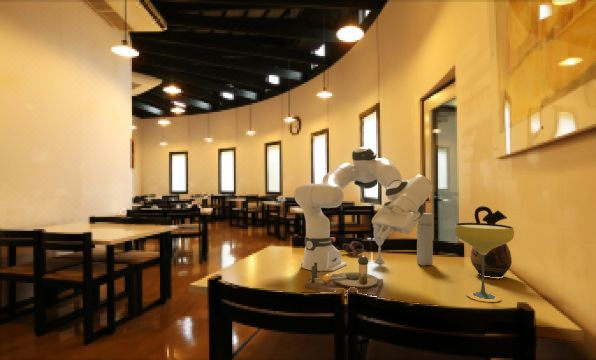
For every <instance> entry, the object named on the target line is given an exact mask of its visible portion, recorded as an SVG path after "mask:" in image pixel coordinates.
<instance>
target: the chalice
mask: <svg viewBox="0 0 596 360" xmlns="http://www.w3.org/2000/svg"><path fill="white" fill-rule="evenodd" d="M372 228H373V238H374V241H375V243H376V245H377V246H378V248H377V249H378V252H377V253H378V256H377V257H376V258H375V260H374V263H375V264H379V265H382V264H385V260H384V258H383V257H382V256H381V255H382V252H381V250H382V247H381V246H382V245H384V244H383V243H384V242H385V239H383V238H379V236H378V234H379V232H380V229H381V228H376V227H375V226H374V225H372Z"/></svg>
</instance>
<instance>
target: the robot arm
mask: <svg viewBox="0 0 596 360" xmlns="http://www.w3.org/2000/svg"><path fill="white" fill-rule="evenodd" d="M351 159H352V163H353V164H352V163H349V162H344V163H340V164H339V165H337V166H335V167H333V168H332V169H331V170H330V171H328V172H327V173H326V174H325V175H323V177H322V182H320V183H304V184H299V185H298V186H296V188H295V190H294V196H293V197H294V200H295V202H296V203H297V204H298V206H299V207H300V209H301V210H302V212H303V215H304V219H305V237H304V245H305V246H304V252H303V261H302V262H301V265H302V266H301V267H302V268H303V269H306V270H307V271H308V270H309V271H312V266H314V263H317V272H322V271H327V272H334V271H336V270H338V269H340V268H342V267H346V266H347V263H346V262H345V261H343V260H342V254H341V252H340V250H338V248H336V247H335V246H334V245H333V242H336V237H335V236H334V237H332V236H331V237H330V233H331V229H330V228H331V223H330V222H331V221H330V219H329V217H327V216H326V215H325V214H324V213H323V211H322V209H324V208H325V209H330V208H336V207H339V206H341V205H342V203H343V201H344V200H345V199H344V198H345V196H344V195H345V194H344V191H343V190H344V189H345V188H347V186H348V185H350V183H352V182H353V184H354V185H355V186H358V187H359V188H362V189H365V190H367V189H368V190H369V189H372V188H375V187H376V186H377V185H378V183H379V184H380V185H381V186H382V187H384V188H385V196H386V198H387V199H388V201H385V202H384V203H383V204H381V205H382V207H381V208H379V210H378V211H377V212H376V213H375V215H373V217H372V219H371V224H372V226H375V227H376V228H381V229H380V232H379V234H378V236H379V238H383V239H386V238H387V237H389V236H390V235H392V234H393V233H395V232H397V233H401V234H406V235H408V234H410V233H412V232H413V230H415V227H417V224H418V223H417V222H418V219H420V218H421V217H422V216H423V214H424V213H425V210H426V204H425V202H426V200H427V199H428V198H429V197H430V195H431V193H432V191H433V187H434V186H433V184H432V181H430V180H429V178H427V177H426V176H425V175H422V174H417V175H416V176H414V177H412V178H410V179H406V180H404V179H403V177H402V174H401V172H400V169H398V168H399V167H397V165H396V164H395V163H394V162H393V161H392V160H390V159H389V158H386V157H380V158H378V157H377V152H374V151H373V150H372V149H371V148H369V147H368V146H360V147H358V148H356V149H354V150H353V151H352V154H351Z"/></svg>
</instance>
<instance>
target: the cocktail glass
mask: <svg viewBox="0 0 596 360" xmlns="http://www.w3.org/2000/svg"><path fill="white" fill-rule="evenodd" d="M454 233H455V235H456V236H457V238H458V239H460V240H461V241H463V242H464V243H466V244H468V245H469V246H471V247H475V248H476V249H477V250H478V252H479V253H480V254H481V255H482V276H481V288H480V291H475V292H476V293H473V295H474V296H477V297H479V298H484V299H494V298H495V296H493V295H494V294H493V295H491V294H492V293H489V294H488V292H486V287H485V277H484V255H486V254H487V253H488V252H489V251H490V250H491V249H493V248H496V247H498V246H501V245H504V244H508V243H510V242H511V241H512V240H513V239H514V237H515V230H514V227H513V226H510V225H503V224H499V223H498V224H497V223H496V224H487V222H486V223H484V222H482V223H481V222H480V223H476V222H459V223H455V226H454Z"/></svg>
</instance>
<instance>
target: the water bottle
mask: <svg viewBox="0 0 596 360" xmlns="http://www.w3.org/2000/svg"><path fill="white" fill-rule="evenodd" d="M416 230H417V231H416V236H417V237H416V240H417V241H416V263H417V265H419V264H420V266H422V265H431V266H432V265H433V263H434V262H433V259H434V257H433V256H434V255H433V253H434V252H433V251H434V250H433V249H434V237H433V236H434V235H433V234H434V214H433V213H431V212H430V213H429V212H424V214H423V216H422V217H421V218H420V219H418V222H417V224H416Z"/></svg>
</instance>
